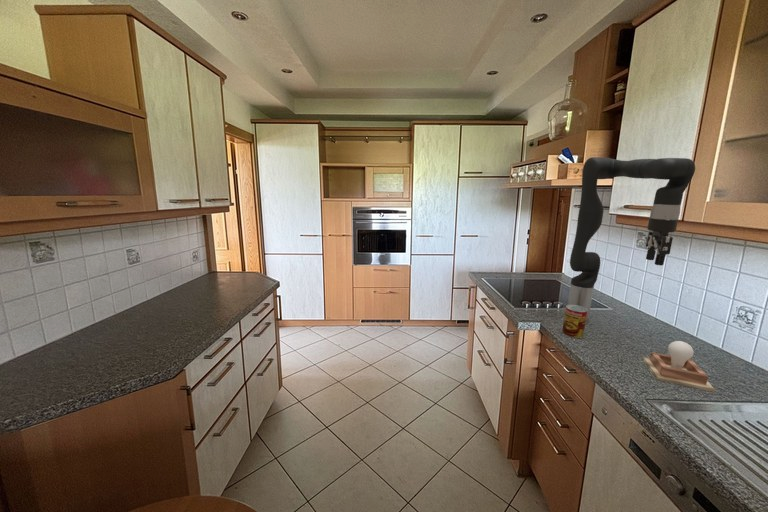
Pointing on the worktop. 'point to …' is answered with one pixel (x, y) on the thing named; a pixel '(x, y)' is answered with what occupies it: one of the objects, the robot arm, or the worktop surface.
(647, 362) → the socket stand
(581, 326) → the canned food
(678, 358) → the lightbulb
